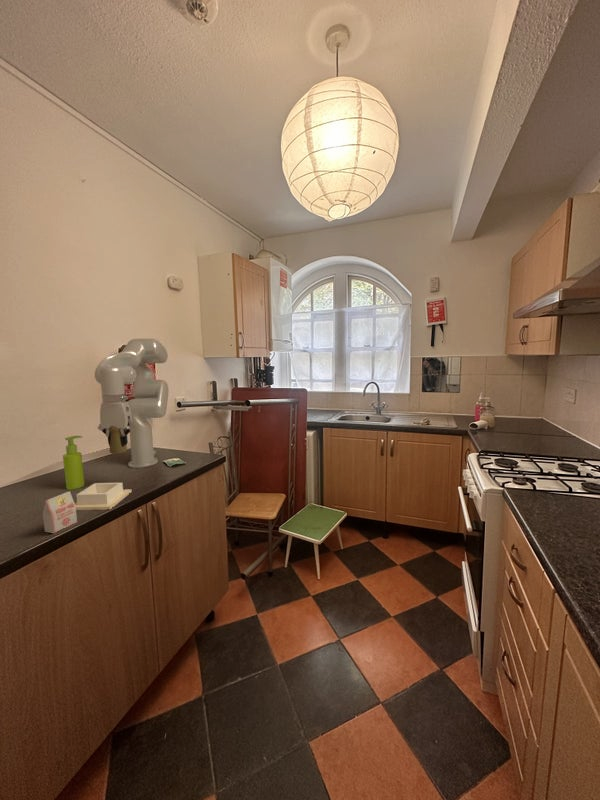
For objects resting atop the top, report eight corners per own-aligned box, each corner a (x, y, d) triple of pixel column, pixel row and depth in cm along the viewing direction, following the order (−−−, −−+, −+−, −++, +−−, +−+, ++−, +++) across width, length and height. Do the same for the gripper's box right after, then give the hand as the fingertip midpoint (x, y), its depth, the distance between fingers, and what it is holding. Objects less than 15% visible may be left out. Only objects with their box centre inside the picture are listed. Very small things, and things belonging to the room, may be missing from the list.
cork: (119, 453, 119) (116, 425, 117) (105, 452, 120) (102, 424, 118) (130, 449, 125) (128, 422, 123) (117, 448, 126) (115, 421, 124)
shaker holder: (93, 492, 117) (92, 481, 117) (131, 491, 118) (130, 480, 117) (67, 510, 104) (66, 497, 103) (110, 509, 104) (108, 496, 103)
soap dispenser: (90, 484, 126) (85, 435, 123) (72, 490, 120) (66, 439, 117) (81, 481, 128) (76, 434, 126) (63, 488, 122) (57, 438, 120)
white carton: (45, 532, 90) (41, 499, 89) (68, 521, 97) (65, 490, 95) (53, 534, 89) (50, 501, 88) (77, 523, 95) (73, 491, 94)
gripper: (140, 397, 123) (144, 442, 126) (97, 398, 123) (102, 443, 125) (131, 400, 116) (135, 448, 118) (85, 400, 115) (90, 448, 118)
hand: (118, 445), depth 122 cm, fingers closed on cork, 3 cm apart
